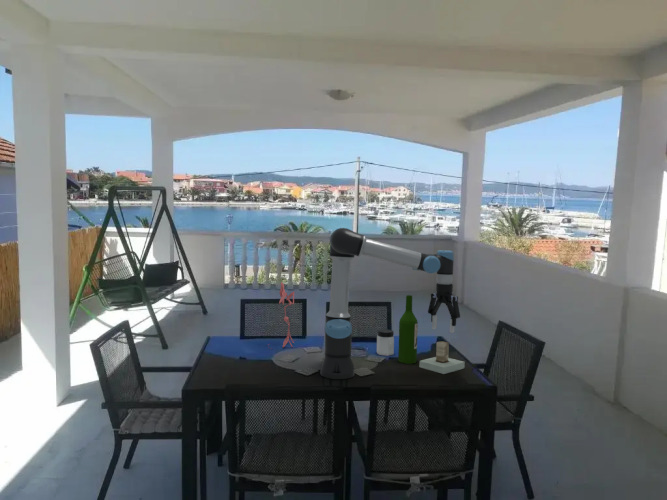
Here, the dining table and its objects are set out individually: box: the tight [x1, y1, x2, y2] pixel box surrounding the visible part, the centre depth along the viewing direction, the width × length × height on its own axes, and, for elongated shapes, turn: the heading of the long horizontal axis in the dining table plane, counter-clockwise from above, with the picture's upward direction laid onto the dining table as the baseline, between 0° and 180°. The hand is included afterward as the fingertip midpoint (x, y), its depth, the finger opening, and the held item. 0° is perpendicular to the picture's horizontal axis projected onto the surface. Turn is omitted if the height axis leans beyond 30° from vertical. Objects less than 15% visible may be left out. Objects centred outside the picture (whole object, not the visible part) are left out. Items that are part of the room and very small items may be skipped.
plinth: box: [418, 356, 466, 375], centre depth 230 cm, size 16×14×3 cm
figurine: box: [267, 281, 296, 350], centre depth 266 cm, size 15×26×35 cm, turn 0°
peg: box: [435, 341, 450, 363], centre depth 230 cm, size 4×4×12 cm
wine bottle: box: [397, 294, 419, 365], centre depth 239 cm, size 9×9×32 cm
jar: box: [376, 328, 395, 357], centre depth 253 cm, size 9×8×12 cm
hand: (443, 330), depth 229 cm, fingers open, 9 cm apart
